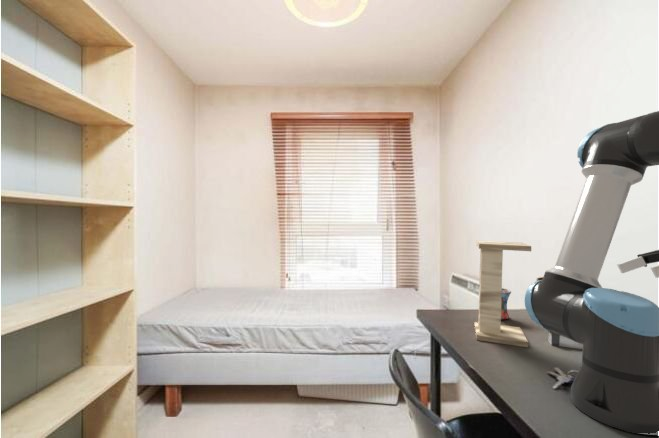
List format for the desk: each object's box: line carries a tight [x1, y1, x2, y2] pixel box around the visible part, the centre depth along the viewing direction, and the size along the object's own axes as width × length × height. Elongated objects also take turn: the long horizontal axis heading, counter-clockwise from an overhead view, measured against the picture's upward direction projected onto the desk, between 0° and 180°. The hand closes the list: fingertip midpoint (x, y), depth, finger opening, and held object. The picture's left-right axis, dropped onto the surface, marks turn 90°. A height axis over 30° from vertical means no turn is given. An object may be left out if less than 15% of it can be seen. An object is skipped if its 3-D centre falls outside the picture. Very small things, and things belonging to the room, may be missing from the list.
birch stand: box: [473, 240, 532, 348], centre depth 105 cm, size 14×14×30 cm
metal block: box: [547, 330, 583, 350], centre depth 97 cm, size 22×4×4 cm, turn 69°
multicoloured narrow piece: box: [501, 287, 512, 320], centre depth 126 cm, size 12×9×11 cm
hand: (635, 270), depth 90 cm, fingers open, 13 cm apart
